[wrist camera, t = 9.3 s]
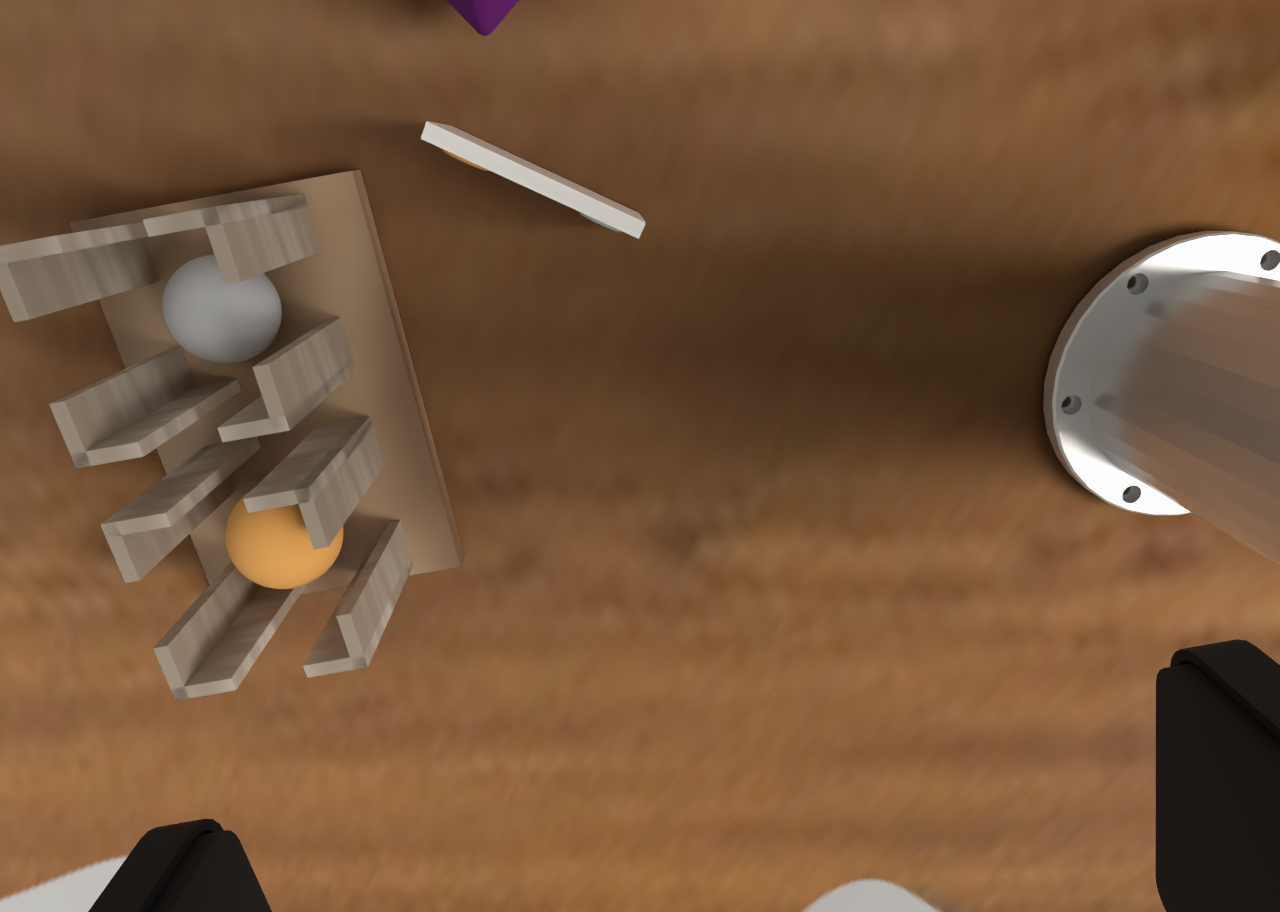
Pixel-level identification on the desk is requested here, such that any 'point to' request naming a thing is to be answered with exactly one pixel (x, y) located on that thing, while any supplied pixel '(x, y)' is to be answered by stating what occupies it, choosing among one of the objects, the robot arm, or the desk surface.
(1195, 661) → the robot arm
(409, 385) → the ball rack
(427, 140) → the card
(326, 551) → the orange ball
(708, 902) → the desk surface
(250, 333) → the grey ball
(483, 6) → the purple potion bottle
